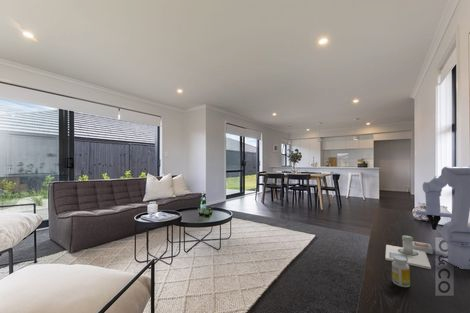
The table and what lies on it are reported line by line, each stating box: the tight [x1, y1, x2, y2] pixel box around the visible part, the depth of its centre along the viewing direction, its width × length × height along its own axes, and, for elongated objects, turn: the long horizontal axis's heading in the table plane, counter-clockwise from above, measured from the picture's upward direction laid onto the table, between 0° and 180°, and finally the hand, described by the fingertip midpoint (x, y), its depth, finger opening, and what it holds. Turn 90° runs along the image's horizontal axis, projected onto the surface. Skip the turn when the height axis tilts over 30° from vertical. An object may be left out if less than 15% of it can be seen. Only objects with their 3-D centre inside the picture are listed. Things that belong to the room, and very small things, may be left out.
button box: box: [413, 240, 434, 255], centre depth 111 cm, size 8×8×2 cm
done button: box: [416, 242, 427, 247], centre depth 111 cm, size 5×5×1 cm
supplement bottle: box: [391, 256, 411, 288], centre depth 81 cm, size 5×5×10 cm
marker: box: [401, 235, 414, 254], centre depth 106 cm, size 4×4×8 cm
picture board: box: [384, 244, 432, 270], centre depth 104 cm, size 20×16×1 cm
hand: (434, 229), depth 115 cm, fingers closed
